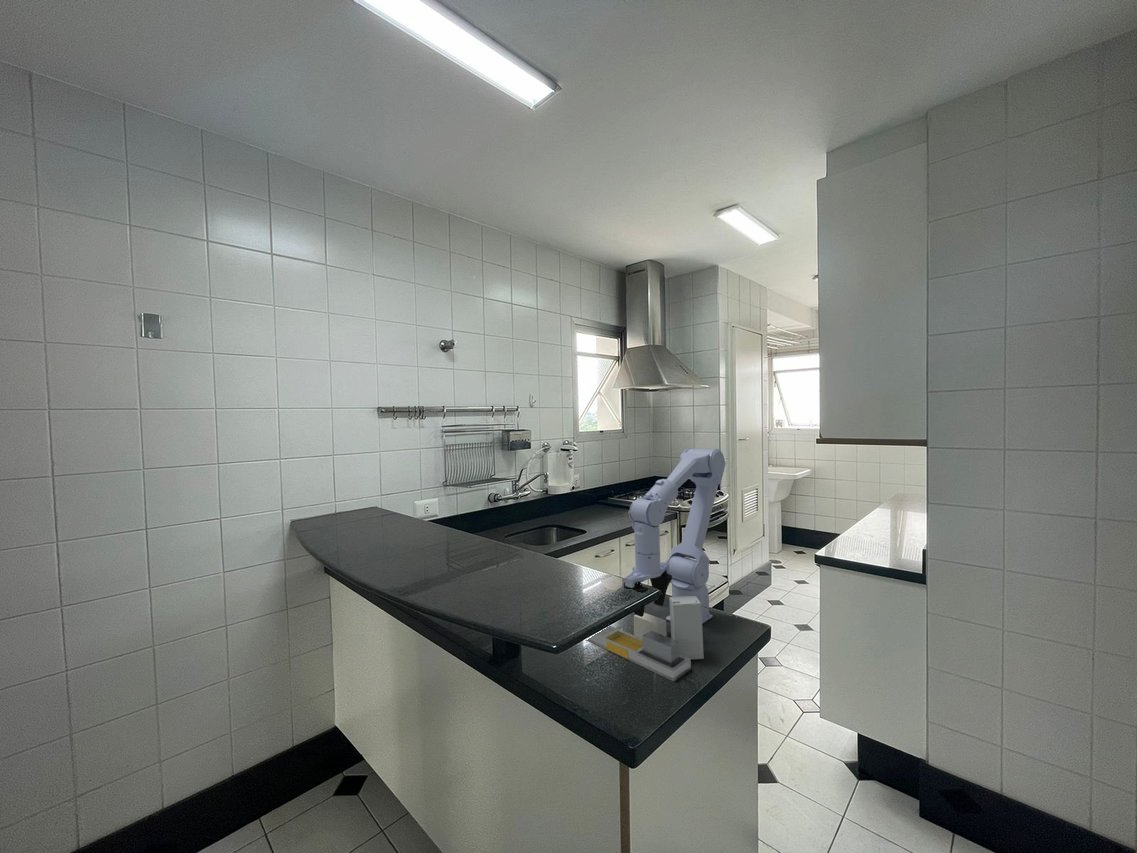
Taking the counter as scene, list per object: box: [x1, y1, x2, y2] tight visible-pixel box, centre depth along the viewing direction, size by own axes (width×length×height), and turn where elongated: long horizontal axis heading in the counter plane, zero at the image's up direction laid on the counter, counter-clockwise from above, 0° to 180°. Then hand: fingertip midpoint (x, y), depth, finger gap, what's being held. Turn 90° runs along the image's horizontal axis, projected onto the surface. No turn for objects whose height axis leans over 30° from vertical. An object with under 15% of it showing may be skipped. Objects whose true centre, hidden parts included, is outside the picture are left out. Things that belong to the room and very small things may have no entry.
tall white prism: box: [633, 612, 668, 639], centre depth 101 cm, size 3×7×5 cm, turn 43°
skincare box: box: [669, 596, 705, 660], centre depth 93 cm, size 6×4×12 cm
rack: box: [586, 625, 692, 682], centre depth 97 cm, size 6×29×6 cm, turn 43°
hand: (649, 609), depth 101 cm, fingers open, 7 cm apart
